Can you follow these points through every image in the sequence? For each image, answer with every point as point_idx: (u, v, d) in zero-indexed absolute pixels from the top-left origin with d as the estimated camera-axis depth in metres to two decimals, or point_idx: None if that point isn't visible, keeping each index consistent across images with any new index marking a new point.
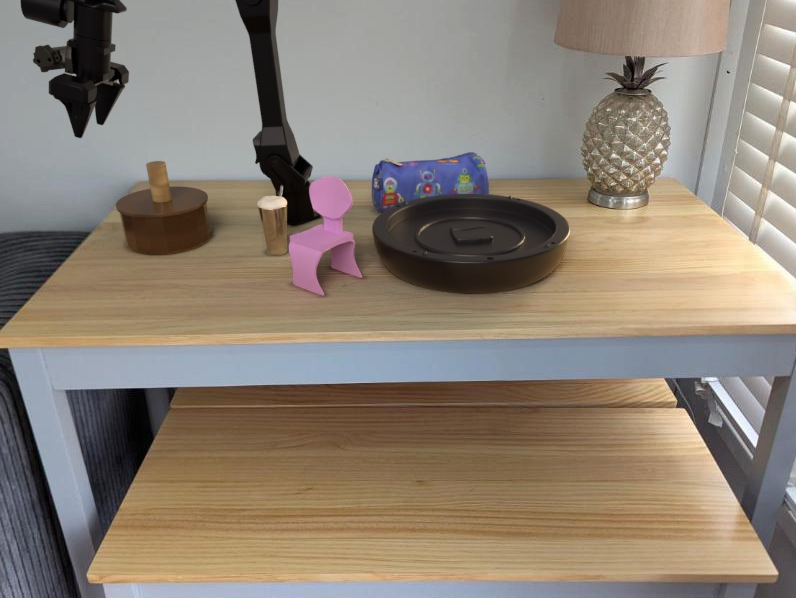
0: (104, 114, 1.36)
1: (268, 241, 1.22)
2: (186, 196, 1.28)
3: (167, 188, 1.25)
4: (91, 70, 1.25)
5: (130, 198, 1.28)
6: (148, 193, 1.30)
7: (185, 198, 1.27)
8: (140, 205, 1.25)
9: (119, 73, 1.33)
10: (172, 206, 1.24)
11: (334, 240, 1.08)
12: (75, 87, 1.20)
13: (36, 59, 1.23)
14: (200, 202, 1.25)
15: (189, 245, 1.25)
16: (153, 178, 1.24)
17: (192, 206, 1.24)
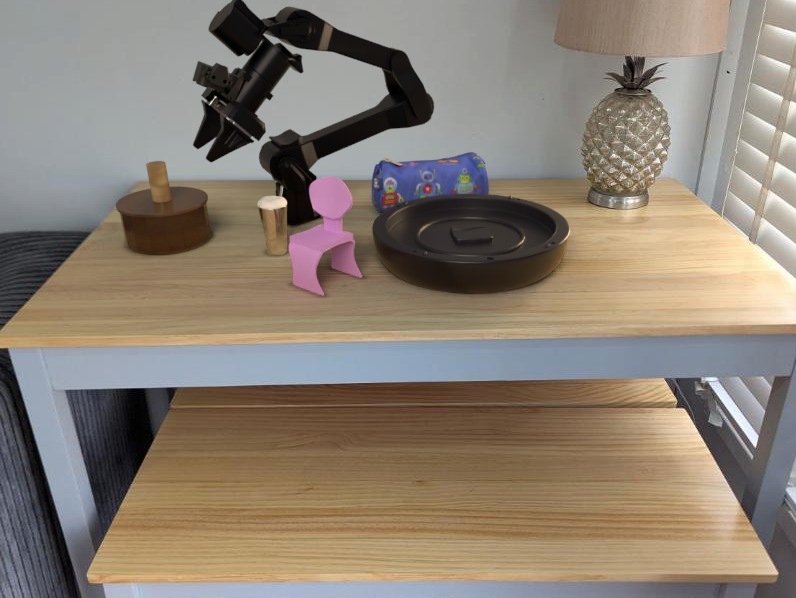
0: (205, 140, 1.30)
1: (268, 241, 1.22)
2: (186, 196, 1.28)
3: (167, 188, 1.25)
4: (251, 107, 1.24)
5: (130, 198, 1.28)
6: (148, 193, 1.30)
7: (185, 198, 1.27)
8: (140, 205, 1.25)
9: None
10: (172, 206, 1.24)
11: (334, 240, 1.08)
12: (258, 123, 1.19)
13: (212, 75, 1.18)
14: (200, 202, 1.25)
15: (189, 245, 1.25)
16: (153, 178, 1.24)
17: (192, 206, 1.24)
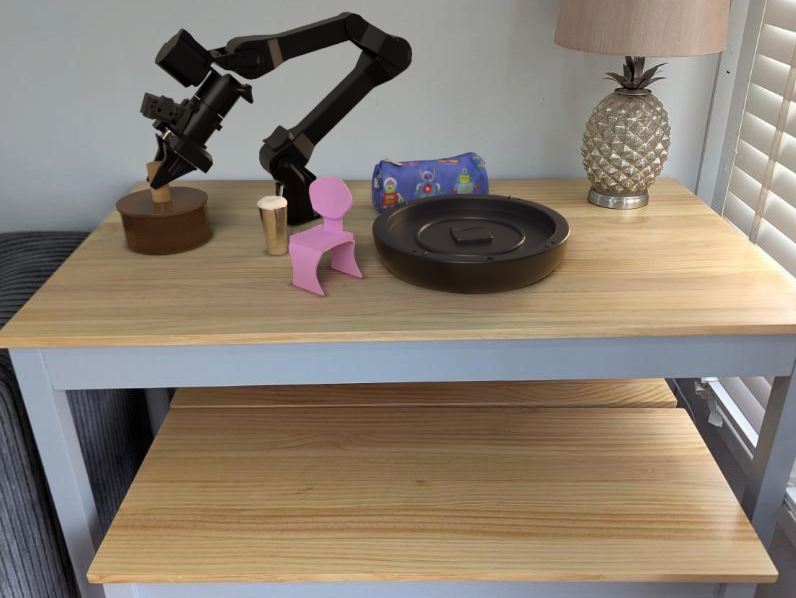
0: None
1: (268, 241, 1.22)
2: (186, 196, 1.28)
3: (167, 188, 1.25)
4: (199, 138, 1.22)
5: (130, 198, 1.28)
6: (148, 193, 1.30)
7: (185, 198, 1.27)
8: (140, 205, 1.25)
9: None
10: (173, 206, 1.24)
11: (334, 240, 1.08)
12: (205, 156, 1.18)
13: (158, 107, 1.16)
14: (200, 202, 1.25)
15: (189, 245, 1.25)
16: None
17: (192, 206, 1.24)
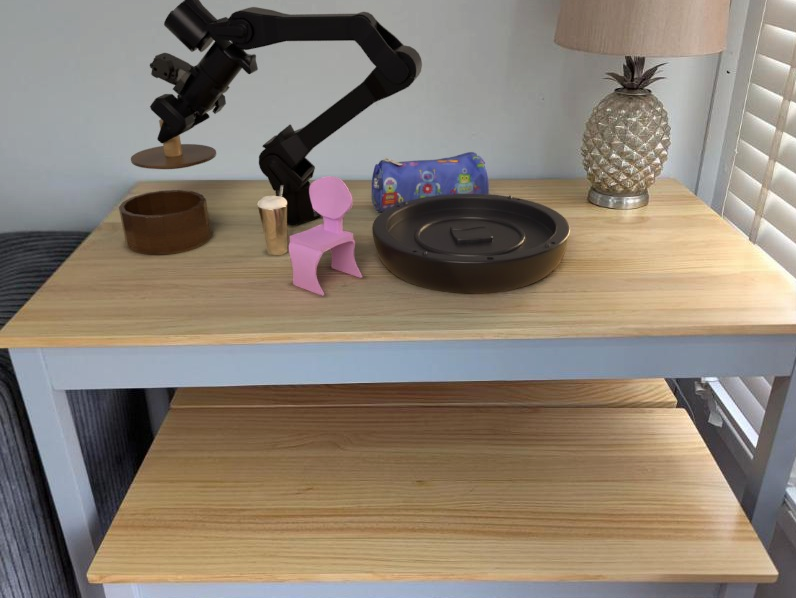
0: None
1: (268, 241, 1.22)
2: (194, 155, 1.36)
3: (174, 144, 1.34)
4: (197, 101, 1.28)
5: (157, 149, 1.40)
6: None
7: (189, 157, 1.35)
8: (151, 155, 1.36)
9: (217, 105, 1.36)
10: (167, 161, 1.32)
11: (334, 240, 1.08)
12: (177, 117, 1.23)
13: (154, 66, 1.25)
14: (192, 162, 1.32)
15: (189, 245, 1.25)
16: None
17: (180, 164, 1.31)
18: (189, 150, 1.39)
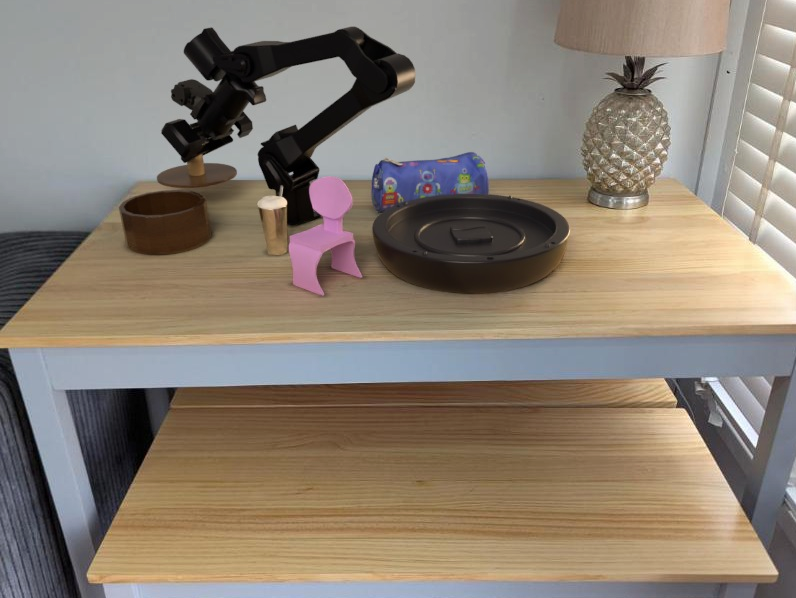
0: (202, 152, 1.44)
1: (268, 241, 1.22)
2: (213, 176, 1.43)
3: (195, 164, 1.42)
4: (209, 127, 1.35)
5: None
6: (207, 166, 1.49)
7: (207, 177, 1.42)
8: (177, 173, 1.45)
9: (240, 130, 1.42)
10: (184, 180, 1.41)
11: (334, 240, 1.08)
12: (181, 142, 1.31)
13: (172, 93, 1.33)
14: (203, 183, 1.39)
15: (189, 245, 1.25)
16: None
17: (191, 184, 1.39)
18: (214, 170, 1.46)
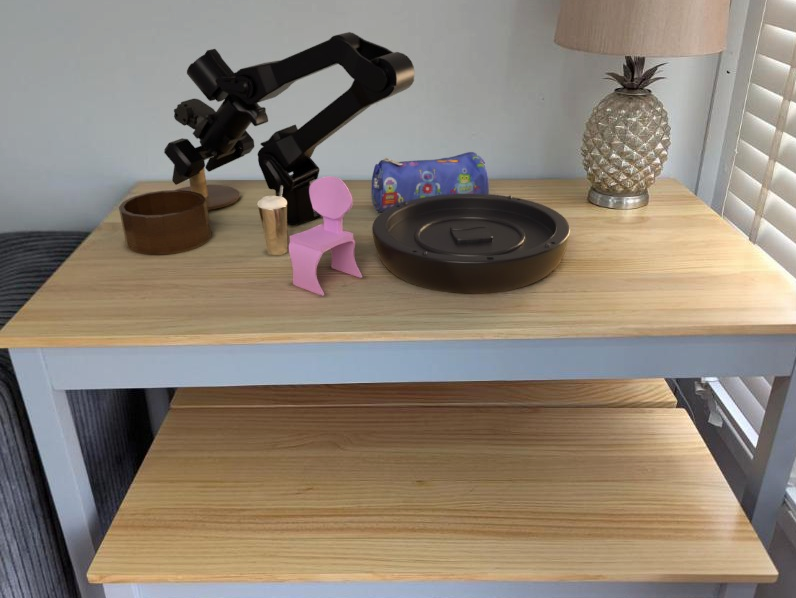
0: (214, 166, 1.48)
1: (268, 241, 1.22)
2: (215, 199, 1.45)
3: (198, 187, 1.45)
4: (212, 147, 1.37)
5: None
6: (210, 188, 1.51)
7: (209, 200, 1.44)
8: None
9: (242, 148, 1.44)
10: None
11: (334, 240, 1.08)
12: (184, 162, 1.32)
13: (175, 112, 1.35)
14: None
15: (189, 245, 1.25)
16: None
17: None
18: (217, 193, 1.48)
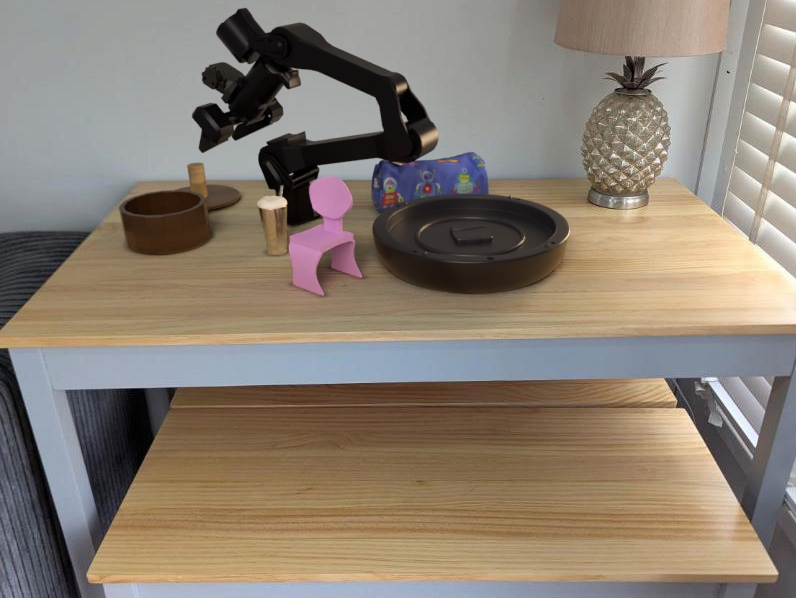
0: (241, 135, 1.42)
1: (268, 241, 1.22)
2: (215, 199, 1.45)
3: (198, 187, 1.45)
4: (241, 112, 1.30)
5: None
6: (210, 188, 1.51)
7: (209, 200, 1.44)
8: None
9: (271, 115, 1.38)
10: None
11: (334, 240, 1.08)
12: (213, 127, 1.26)
13: (203, 75, 1.29)
14: None
15: (189, 245, 1.25)
16: (189, 176, 1.44)
17: None
18: (217, 193, 1.48)
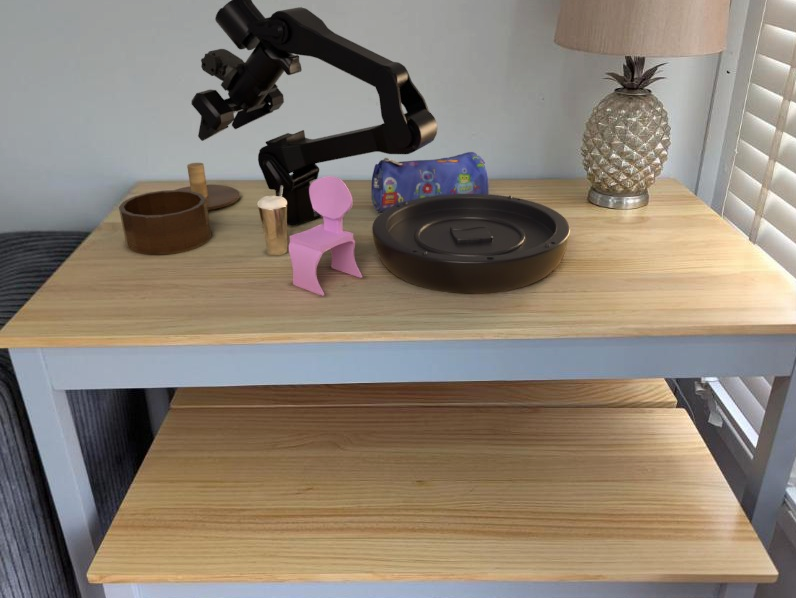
0: (241, 123, 1.40)
1: (268, 241, 1.22)
2: (215, 199, 1.45)
3: (198, 187, 1.45)
4: (241, 99, 1.29)
5: None
6: (210, 188, 1.51)
7: (209, 200, 1.44)
8: None
9: (271, 103, 1.36)
10: None
11: (334, 240, 1.08)
12: (212, 114, 1.25)
13: (203, 62, 1.27)
14: None
15: (189, 245, 1.25)
16: (189, 176, 1.44)
17: None
18: (217, 193, 1.48)
